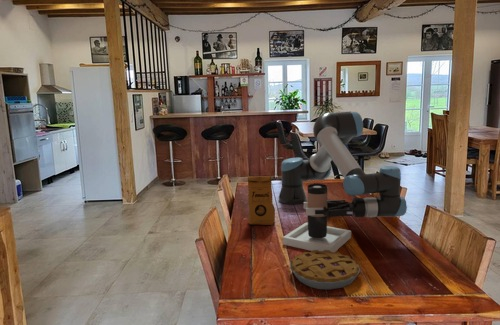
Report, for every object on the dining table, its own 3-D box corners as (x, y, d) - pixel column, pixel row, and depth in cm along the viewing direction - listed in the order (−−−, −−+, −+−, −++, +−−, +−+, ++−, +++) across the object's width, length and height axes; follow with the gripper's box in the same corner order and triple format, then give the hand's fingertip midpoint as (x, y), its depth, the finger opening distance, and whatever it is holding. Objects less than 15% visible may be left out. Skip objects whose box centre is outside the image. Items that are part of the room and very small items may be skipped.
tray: (282, 244, 146) (282, 237, 146) (306, 229, 162) (306, 222, 162) (331, 255, 135) (331, 247, 134) (351, 237, 151) (351, 230, 150)
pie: (314, 299, 106) (314, 283, 105) (278, 268, 126) (277, 254, 125) (374, 282, 115) (375, 267, 114) (332, 256, 134) (332, 243, 134)
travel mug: (328, 232, 150) (328, 184, 147) (325, 239, 143) (325, 188, 140) (309, 230, 153) (309, 183, 149) (306, 237, 146) (305, 187, 142)
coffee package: (274, 227, 166) (273, 178, 162) (246, 226, 168) (244, 178, 164) (276, 220, 175) (275, 174, 172) (250, 219, 178) (248, 174, 174)
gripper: (371, 225, 136) (307, 226, 137) (357, 208, 156) (302, 210, 157) (371, 205, 135) (307, 206, 136) (357, 191, 155) (302, 192, 156)
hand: (304, 208), depth 146 cm, fingers closed on travel mug, 7 cm apart
